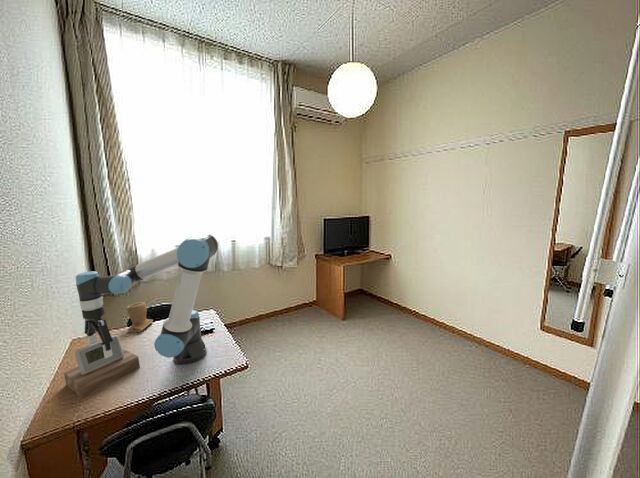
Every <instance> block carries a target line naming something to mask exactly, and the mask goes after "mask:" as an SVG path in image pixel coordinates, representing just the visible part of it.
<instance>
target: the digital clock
mask: <svg viewBox="0 0 640 478" xmlns="http://www.w3.org/2000/svg"><path fill="white" fill-rule="evenodd" d="M111 337H112V339H113V341H112V342H110V343H111V349H112V354H113V355H112V356H110V357H108V358H106V359H105V357H104V352H103V346H102V345H101V344H102V343H103V342H102V340H101V339H100V340H98V341H97V342H95V343H92V344H90V345H89V344H87V345H86V346H84V347H81V348H78V349H76V350H75V351H74V356H75V359H76V363H77V365H78V366H79V369H80V373H81V375H85V374H88V373H90V372H94V371H96V370H98V369H100V368H102V367H105V366H107V365H109V364H111V363H114V362H116V361H117V360H119V359H121V358H123V357H124V353H123V350H122V348H123V347H122V344H121V341H120V337H119V335H118V334H114V335H111ZM78 366H77V367H78Z"/></svg>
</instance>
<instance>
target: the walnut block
mask: <svg viewBox="0 0 640 478" xmlns="http://www.w3.org/2000/svg"><path fill="white" fill-rule="evenodd" d="M122 350H123V353H124V357H123V358H121V359H119V360H117V361H116V362H114V363H111V364H109V365H107V366H105V367H102V368H100V369H98V370H96V371H94V372H90V373H88V374H85V375H81V373H80V369H79V366H76V367H73V368H72V369H69V370H67V371H64V372H63V376H64V381H65V384H66V385H65V386H67V388H69V389H71V391H73V392H74V393H75V394H77V395H78V396H79V397H80V398H82V399H84V398H86V397H87V396H90V395H92V394H93V393H95V392H98V391H99V390H101V389H103V388H105V387H107V386H108V385H111V384H112V383H115V382H116V381H118V380H120V379H122V378H124V377H126V376H128V375H129V374H131V373H133V372H135V371H137V370H139V369H140V368H141V366H140V360H139V356H138V355H136V354H134V353H133V352H131V351H128V350H126V349H125V348H123V347H122Z"/></svg>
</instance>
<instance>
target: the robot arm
mask: <svg viewBox="0 0 640 478" xmlns="http://www.w3.org/2000/svg"><path fill="white" fill-rule="evenodd" d="M218 249H219V244H218V240H217V239H216V237H215V236H213V234H209V233H204V232H202V233H198V234H196V235H195V236H190V237H188V238H186V239H184V240H183V241H182V242H181V243H179V245H178V247H176V248H174V249H171V250H169V251H166V252H165V253H162V254H159V255H157V256H155V257H152V258H150V259H147V260H145V261H143V262H140V263H138V264H136V265H133V266H130V267H128V268H126V269H124V270H121V271H119V272H117V273H114V274H112V275H108V276H107V275H105V276H100V275H99V272H98V271H93V270H92V271H84V272H81V273H78V274H77V275H75V285H76V289H77V293H78V297H79V298H78V299H79V301H78V302H79V306H80V310H81V314H82V319H83V320H84V334H85V335H86V336H87V339H88V340H87V341H88V345H90V344H92V343H95V342H98V341H97V335H96V333H97V334H98V336H99V338H100V340H102V342H103V343H102V344H101V345H102V346H103V352H104V357H105V359H106V358H108V357H110V356H112V355H113V354H112V349H111V343H110V342H112V341H113V339H112V334H111V332H110V329H109V327H108V324H107V321H106V319H103V318H102V317H103V316H104V315H105V314H106V310H105V309H106V308H105V306H104V296H103V295H112V294H113V295H115V294H116V295H117V294H118V295H119V294H125V293H127V292H129V290H130V289H131V287H132V285H134V284H136V283H138V282H141V281H144V280H145V279H149V278H151V277H152V276H155V275H157V274H160V273H162V272H164V271H167V270H170V269H173V268H176V267H177V266H178V268H179V269H180V271H179V275H178V279H177V284H176V287H175V292H174V296H173V299H172V303H171V307H170V311H169V315H168V318H167V319H165V320H164V321H163V323H162V327H161V331H160V334H159V335H158V336H157V337H156V339H155V340H154V342H153V343H154V344H153V345H154V348H155V351H156V352H157V353H158V354H159V355H160V356H161V357H165V358H173V362H174V363H176V364H178V365H187V364H192V363H195V362H198V361H200V360H201V359H203V358H204V357H205V356H206V354H207V346H206V344H205V342H204V340H203V339H202V332H201V331H202V330H201V318H200V313H199V311H197V310H195V309H194V307H195V306H194V305H195V302H196V299H197V295H198V291H199V286H200V282H201V279H202V276H203V273H205V272H207V270H208V267H209V263H210V260H211V258H212V257H214V255H216V253H217V252H218Z"/></svg>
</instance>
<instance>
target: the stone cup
mask: <svg viewBox="0 0 640 478" xmlns="http://www.w3.org/2000/svg"><path fill="white" fill-rule="evenodd" d="M147 311H148V309H147V306H146V303H145V302H144V301H140V302H136V303H135V302H134V303H133V304H129V305H128V306H127V307H126V313H127V314H128V317H129V318H130V321H131V323H132V325H130V326H129V327H128V328H127V331H129V332H131V333H139V332H142V331H144V329H146V328H147V327H148V326H149V325H151V324H152V322H154V320H153V319H152V318H147Z"/></svg>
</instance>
